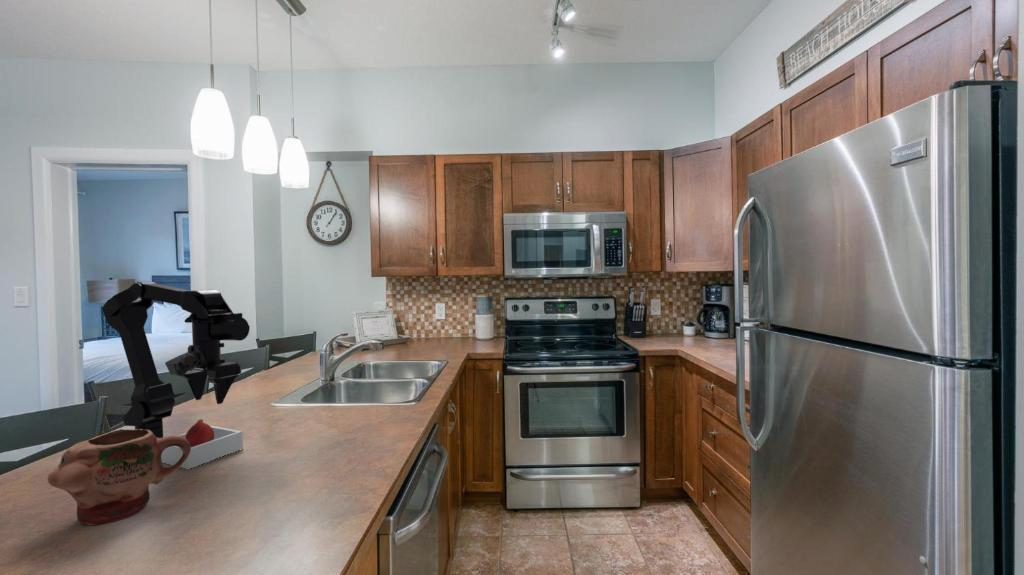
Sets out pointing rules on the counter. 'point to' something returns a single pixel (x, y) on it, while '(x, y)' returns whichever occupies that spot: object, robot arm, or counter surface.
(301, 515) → the counter surface
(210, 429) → the onion
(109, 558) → the counter surface
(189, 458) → the bin
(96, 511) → the tan novelty mug
